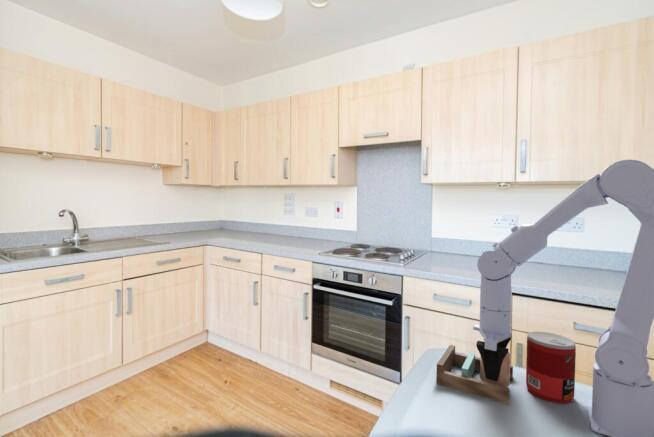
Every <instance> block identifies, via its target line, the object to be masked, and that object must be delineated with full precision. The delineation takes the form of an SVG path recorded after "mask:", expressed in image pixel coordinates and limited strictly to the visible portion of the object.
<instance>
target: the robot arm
mask: <svg viewBox="0 0 654 437" xmlns="http://www.w3.org/2000/svg"><path fill="white" fill-rule="evenodd" d="M607 198H610V199H611V200H613V201H614V202H616V203H618V204H620V205H622V206H624V207H626V208H627V209H628V211H629V212H630V213H631V214H632V215H633V216H634V218H636V219H637V220H638V221H639V222H640V226H639V230H638V234H637V237H636V240H635V243H634V248H633V250H632V254H631V258H630V260H629V264H628V267H627V271H626V273H625V278H624V281H623V285H622V288H621V291H620V294H619V298H618V300H617V303H616V304H617V305H616V308H615V311H614V314H613V316H612V319H611V323H610V326H609V327H608V329H606V330H604V331H603V332H602V333H601V334H600V336H599V339H598V346H597V348H596V350H595V353H594V359H595V362H594V363H593V365H592V396H591V398H592V399H591V400H592V401H591V406H590V405H587V406H585V407H586V408H585V409H586V412H587V416H588V420H589V424H590V427H591V431H593V432H595V433H597V434H602V435H604V436H608V437H654V380H652V377H651V375H649V371H650V365H649V361H648V344H649V339H650V332H651V328H652V325H653V321H654V168H653V167H651V166H650V165H649V164H647V163H646V162H643V161H641V160H637V159H623V160H619V161H615V162H613V163H611V164H610V165H608V166H607V167H606V168H604V170H603V171H602V173H601V175H600V173H597V174H595V175H594V176H592V177H590V178H588V179H587V180H586V181H585V182H583V183H581V185H579V186H578V187H577V188H575V189H574V190H572V192H570V193H569V194H567V196H565V197H564V198H563V199H562V200H561V201H560V202H559V203H557V204H556V205H554V207H553V208H552V209H550V210H549V211H548V212H547V213H545V214H544V215H543V216H542V217H541V218H540V219H538V220H537V221H536V222H535V223H534V224H532V223H531V224H530V223H523V224H521V225H519V226H518V225H514V226H513V227H512V228H511V229H510V231H511V233H510V234H509V235H507V236H506V237H504V238H503V239H502V240H501V241H500V242H495V243H494V244H492V247H493V250H492V249H491V250H485V251H483V252H482V254H481V255H480V256H479V257H478V260H477V262H476V263H477V264H476V265H477V266H476V267H477V269H478V271H479V273H480V287H479V288H480V290H479V291H480V293H479V294H480V295H479V299H480V300H479V324H474V325H473V327H472V328H473V330H474V331H476V332H477V331H478V332H479V333H480V335H481V337H482V338H483V340H484V341H483V340H482V341H480V340H477V341H476V349H477V350H478V352H479V354H480V355H481V358H482V361H483V366H484V372H485V376H486V379H490V380H494V381H498V378H499V375H500V370H501V365H502V362H503V360H504V358H505V356H506V355H507V353H508V352H509V348H507V347H508V345H509V343H510V341H511V340H512V332H513V331H512V330H511V327H512V326H511V324H512V321H511V320H512V274H513V273H514V272H515V270H516V268H517V267H520V266H522V265H523V264H525V263H526V262H527V261H528V260H530V259H532V258H533V257H534V256H535V255H537V254H538V253H539V252H541V251H542V250H544V249H545V248H546V247H547V246H548V237H549V236H550V235H551V234H553V233H554V232H556V231H557V230H559V229H560V228H561V227H563V226H564V225H566V224H567V223H569V222H570V221H571V220H572V219H575V218H576V217H578V216H579V215H580V214H581V213H583V212H584V211H586V210H587V209H590V208H595V207H598V206H604V205H608V204H609V202H608V201H607Z"/></svg>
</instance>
